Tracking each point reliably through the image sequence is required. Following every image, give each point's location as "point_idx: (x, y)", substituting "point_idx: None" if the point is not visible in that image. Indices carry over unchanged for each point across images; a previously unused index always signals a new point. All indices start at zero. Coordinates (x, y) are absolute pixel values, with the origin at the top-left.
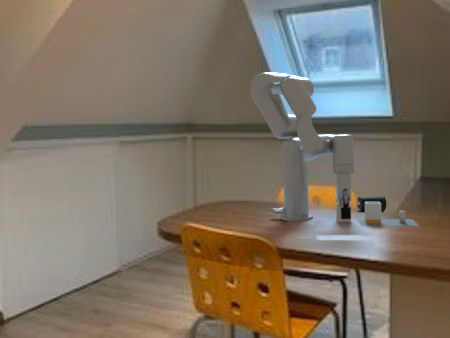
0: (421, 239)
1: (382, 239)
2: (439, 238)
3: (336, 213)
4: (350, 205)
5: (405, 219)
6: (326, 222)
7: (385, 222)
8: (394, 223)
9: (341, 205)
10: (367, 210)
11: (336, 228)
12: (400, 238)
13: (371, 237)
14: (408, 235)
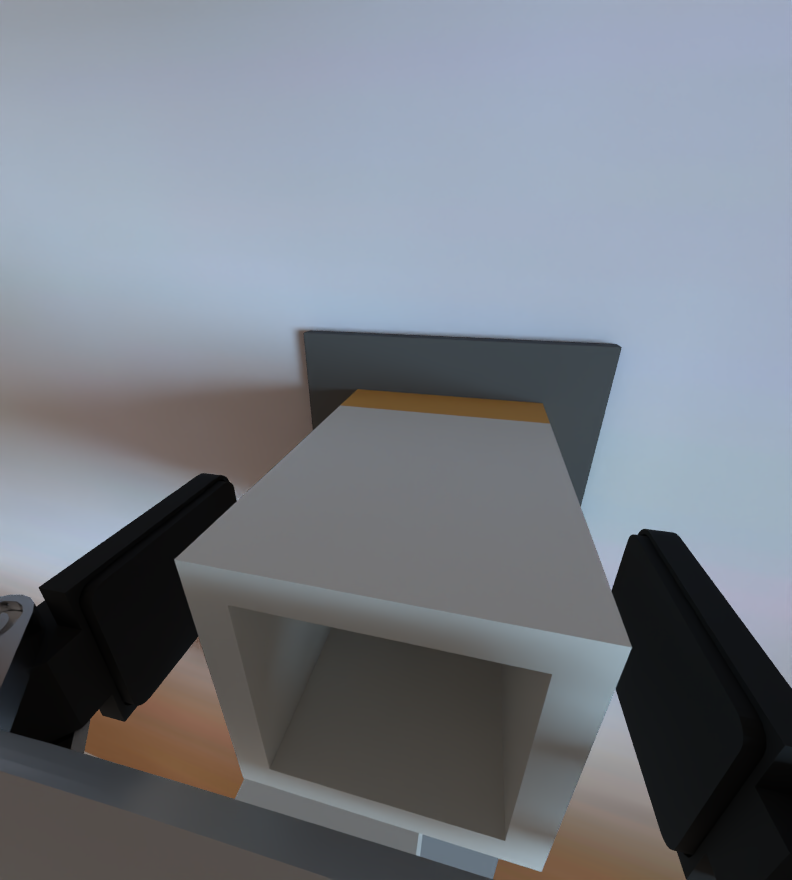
0: (105, 719)
1: (29, 588)
2: (148, 771)
3: (377, 460)
4: (306, 793)
5: (479, 872)
6: (693, 261)
7: None
8: None
9: (525, 701)
10: None
11: (267, 367)
12: None
13: (46, 553)
14: (165, 714)
